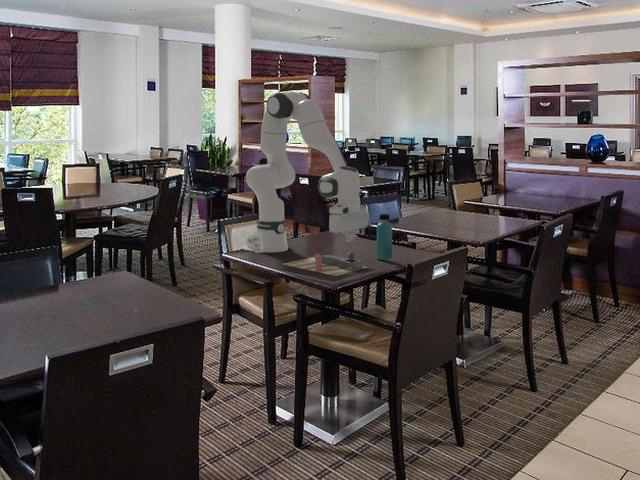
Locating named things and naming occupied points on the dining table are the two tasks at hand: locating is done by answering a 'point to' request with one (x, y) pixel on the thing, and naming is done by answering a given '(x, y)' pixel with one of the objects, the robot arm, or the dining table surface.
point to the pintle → (351, 257)
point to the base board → (326, 269)
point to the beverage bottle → (384, 238)
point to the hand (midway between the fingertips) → (349, 241)
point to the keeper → (318, 262)
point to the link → (342, 262)
